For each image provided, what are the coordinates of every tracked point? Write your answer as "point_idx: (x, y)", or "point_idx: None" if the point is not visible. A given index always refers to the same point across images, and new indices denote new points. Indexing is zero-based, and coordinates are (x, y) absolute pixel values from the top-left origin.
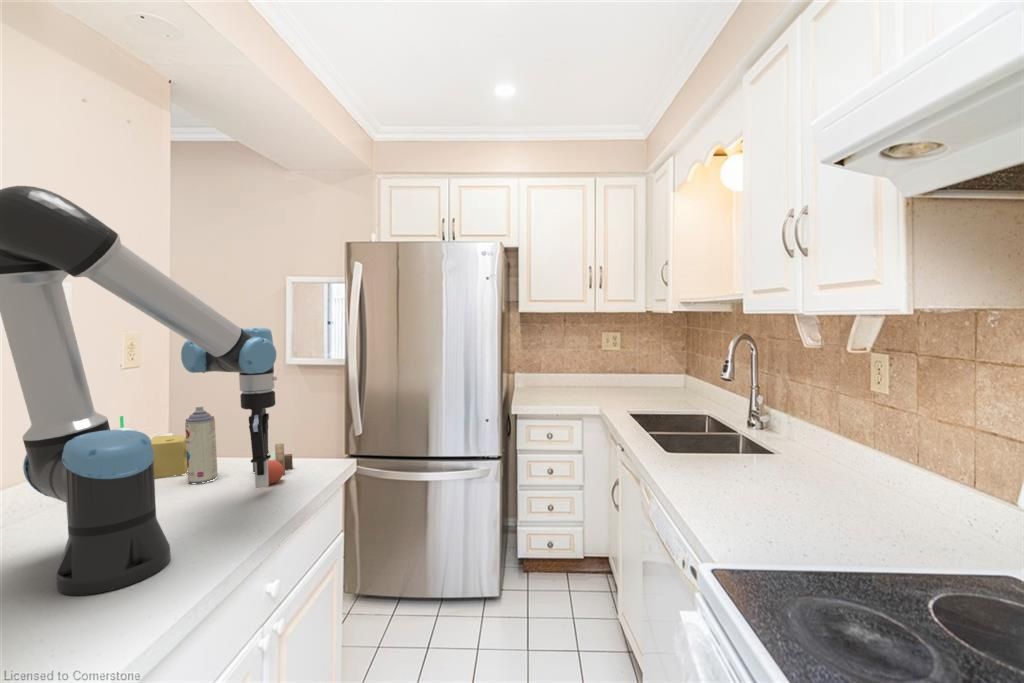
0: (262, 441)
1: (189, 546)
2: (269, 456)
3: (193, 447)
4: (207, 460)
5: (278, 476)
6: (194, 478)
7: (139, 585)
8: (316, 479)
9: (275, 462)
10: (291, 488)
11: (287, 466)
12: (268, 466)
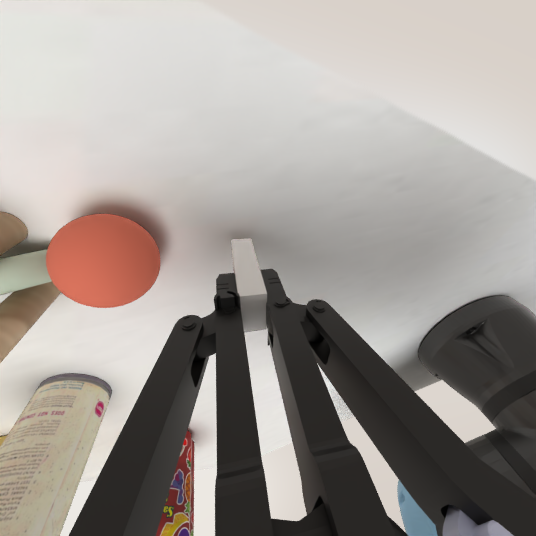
0: (409, 387)
1: (455, 291)
2: (239, 297)
3: (67, 510)
4: (69, 441)
5: (138, 225)
6: (106, 406)
7: (523, 301)
8: (82, 40)
9: (100, 264)
10: (204, 161)
11: None
12: (137, 279)
